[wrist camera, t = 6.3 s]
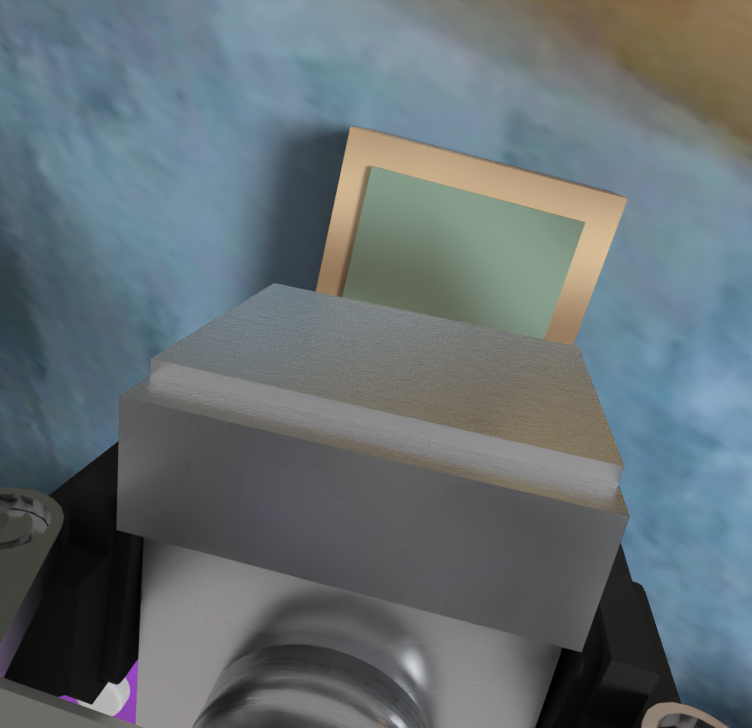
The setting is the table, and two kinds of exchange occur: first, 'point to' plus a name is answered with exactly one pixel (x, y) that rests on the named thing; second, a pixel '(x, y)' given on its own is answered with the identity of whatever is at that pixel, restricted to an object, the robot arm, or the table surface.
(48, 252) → the table surface
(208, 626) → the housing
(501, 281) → the picture frame
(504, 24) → the table surface
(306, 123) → the table surface
